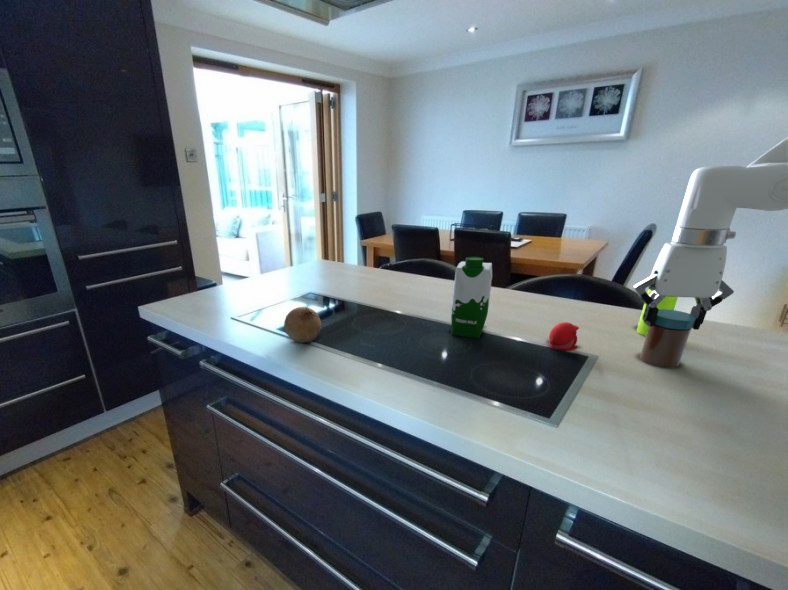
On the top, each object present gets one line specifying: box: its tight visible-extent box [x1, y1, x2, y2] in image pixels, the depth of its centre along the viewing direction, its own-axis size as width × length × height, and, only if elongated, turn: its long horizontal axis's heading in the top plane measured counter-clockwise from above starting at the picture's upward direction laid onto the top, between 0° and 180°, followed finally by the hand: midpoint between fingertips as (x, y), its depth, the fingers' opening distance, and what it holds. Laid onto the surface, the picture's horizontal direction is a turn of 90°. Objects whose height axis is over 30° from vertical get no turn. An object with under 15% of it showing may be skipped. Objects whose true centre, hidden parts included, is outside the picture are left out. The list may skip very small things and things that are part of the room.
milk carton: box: [450, 256, 493, 339], centre depth 99 cm, size 9×9×20 cm
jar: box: [639, 324, 692, 369], centre depth 81 cm, size 7×7×11 cm
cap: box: [548, 321, 580, 352], centre depth 91 cm, size 8×6×6 cm
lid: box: [655, 309, 696, 330], centre depth 79 cm, size 7×7×2 cm
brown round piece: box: [283, 306, 322, 344], centre depth 100 cm, size 10×9×10 cm
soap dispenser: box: [636, 288, 679, 337], centre depth 95 cm, size 6×7×20 cm
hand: (670, 325), depth 80 cm, fingers closed on lid, 7 cm apart
